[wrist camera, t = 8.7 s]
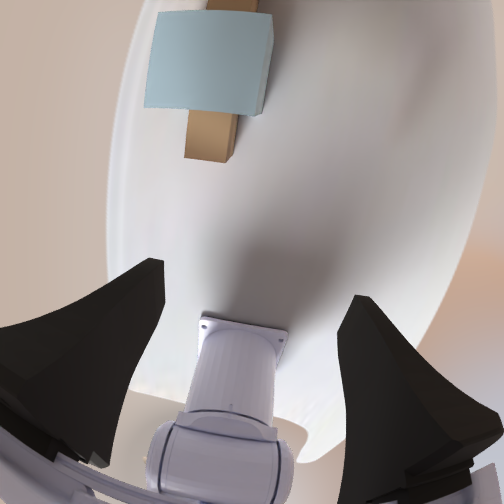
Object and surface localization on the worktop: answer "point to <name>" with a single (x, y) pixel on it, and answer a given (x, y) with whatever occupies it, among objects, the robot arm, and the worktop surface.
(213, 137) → the brown board
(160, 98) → the light blue open box
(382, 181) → the worktop surface
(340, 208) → the worktop surface
